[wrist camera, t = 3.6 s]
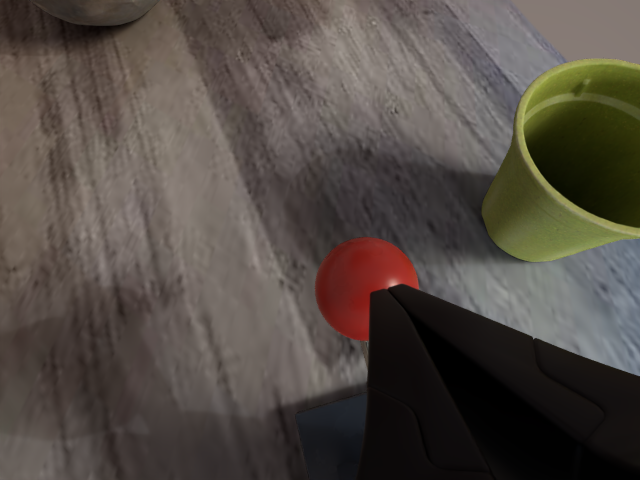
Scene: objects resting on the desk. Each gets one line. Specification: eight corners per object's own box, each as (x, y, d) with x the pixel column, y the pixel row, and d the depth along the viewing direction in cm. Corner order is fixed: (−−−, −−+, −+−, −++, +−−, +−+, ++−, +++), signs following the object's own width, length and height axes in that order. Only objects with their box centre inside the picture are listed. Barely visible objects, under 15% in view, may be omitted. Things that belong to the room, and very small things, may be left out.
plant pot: (428, 236, 24) (480, 162, 16) (491, 136, 26) (564, 29, 18) (567, 318, 22) (709, 282, 14) (620, 201, 24) (766, 113, 16)
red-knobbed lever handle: (302, 251, 13) (304, 252, 10) (388, 228, 13) (418, 222, 10) (388, 582, 13) (419, 692, 10) (473, 553, 13) (531, 651, 10)
